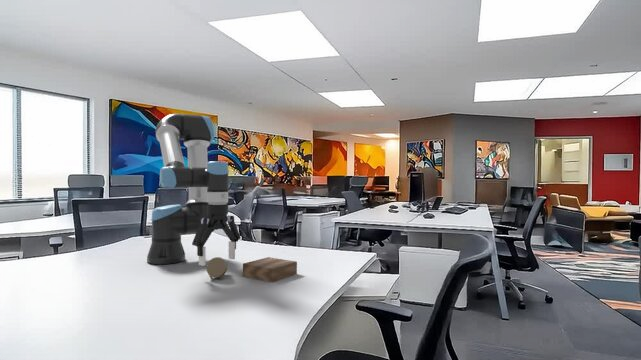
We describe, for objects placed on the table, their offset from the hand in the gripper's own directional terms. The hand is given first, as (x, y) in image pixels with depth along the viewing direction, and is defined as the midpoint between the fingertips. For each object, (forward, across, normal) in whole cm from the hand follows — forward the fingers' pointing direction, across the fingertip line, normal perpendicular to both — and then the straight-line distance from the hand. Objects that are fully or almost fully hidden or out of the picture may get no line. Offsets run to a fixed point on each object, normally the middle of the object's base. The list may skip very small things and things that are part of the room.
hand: (217, 262), depth 142 cm
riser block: (+6, +12, -15) cm, 20 cm away
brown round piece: (+6, 0, 0) cm, 6 cm away
